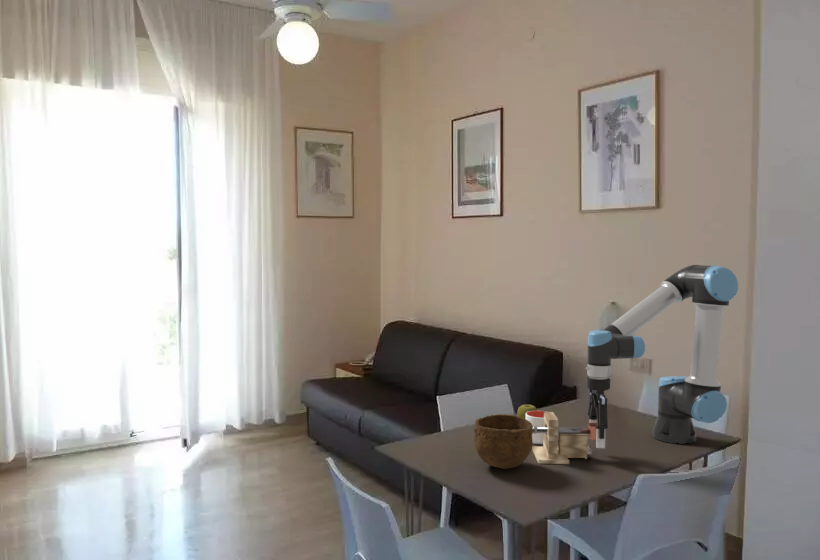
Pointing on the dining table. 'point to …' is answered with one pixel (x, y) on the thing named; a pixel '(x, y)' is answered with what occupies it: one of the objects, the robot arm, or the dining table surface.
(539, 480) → the dining table surface
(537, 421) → the cup
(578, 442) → the slotted wooden stand
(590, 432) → the metal rod with block
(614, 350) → the robot arm
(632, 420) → the dining table surface
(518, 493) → the dining table surface
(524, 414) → the apple
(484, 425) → the bowl
